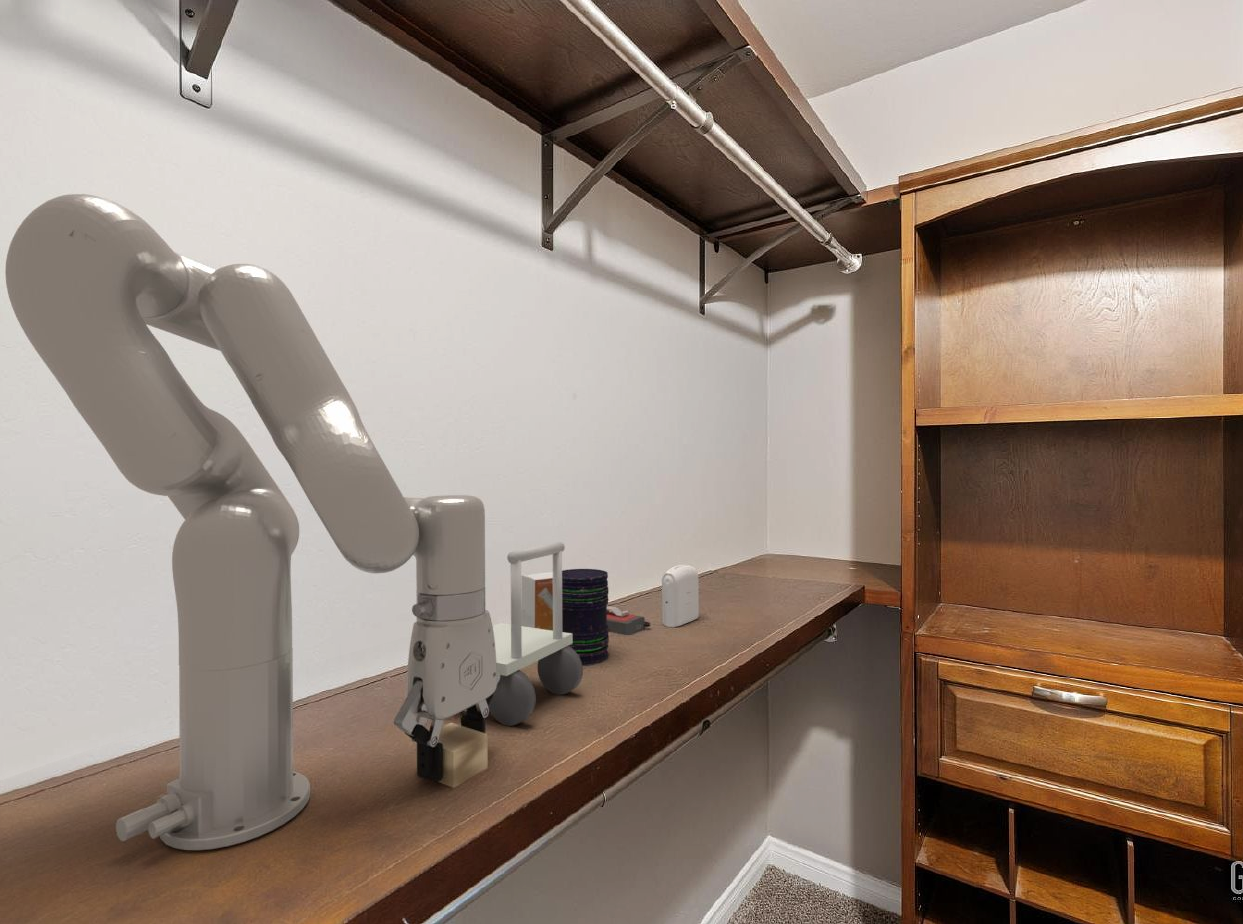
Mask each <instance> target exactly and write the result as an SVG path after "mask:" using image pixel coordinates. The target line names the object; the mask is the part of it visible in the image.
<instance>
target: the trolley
mask: <svg viewBox="0 0 1243 924" xmlns="http://www.w3.org/2000/svg"><path fill="white" fill-rule="evenodd" d="M565 549H566V548H565V544H564V543H563V542H562V541H556V542H552V543H547V544H543V545H537V546H533V547H527V548H523V549H517V550H513V551H509V553H508V554H507V557H506V558H507V561H508V562H509V564H510V624H509V623H501V622H499V623H497V624H494V625H492V626H493V632H494V639H495V649H496V664H497V672H498V673H499V674H500V679H499V682H498V684H497V687H496V690H495V691H494V694H493V697H492V699H491V701H490V703H489V705H488V708H489V713H490V714H491V716H492V717H493V718H494V719H495V720H496V721H497V722H498V723H500V724H502V725H505V726H509V727H510V726H512V727H513V726H516V725H518V724H520V723H521V722H523V721H525V720H526V719H528V718H529V717H530V716H531V715H532V713H533V712H534V710H535V707H536V701H537V699H536V691H535V687H534V685H533V682H532V681H531V679H530V678H529V677H528V675H527V674H526V673H525V672H523V671H522V669H523V668H526V667H528V666H530V665H531V664H534V663H536V662H537V666H536V668H537V675H538V678H539V680H540V682H541V684H542V685H543V687H544V688H545V689H546V690H547V691H548V692H550V693H552V694H554V695H560V696H561V695H566V694H568V693H571V691H572V690H575V689H576V688H577V687H578V686H579V685H580V683H581V681H582V679H583V674H584V672H583V671H584V668H583V667H584V666H582V662H581V660H580V658H579V656H578V654H577V653H576V652H575V651H574V650H573V649H572V648H571V647H569V646H568V645H570V644H572V643H573V639H572V633H565V632H562V571H563V552H564V551H565ZM551 555H552V572H553V631H551V630H544V629H537V628H530V627H524V626H521V601H522V591H521V576H522V562H526V561H530V560H531V561H532V560H535V559H539V558H543V557H546V556H551Z"/></svg>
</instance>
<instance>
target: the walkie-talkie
mask: <svg viewBox="0 0 1243 924" xmlns="http://www.w3.org/2000/svg"><path fill="white" fill-rule="evenodd" d="M607 625H608V629H609V632H608V633H614V634H619V635H624V636H631V635H634V634H636V632H637V633H639V632H641V631H643V630H645V629H646V628H650V627H651V622H649V621H645V617H644V616H641V615H634V614H630V612H629V610H624V611H621V610H620V609H619V608H618V607H616V606H608V605H607Z"/></svg>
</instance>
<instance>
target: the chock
mask: <svg viewBox="0 0 1243 924" xmlns="http://www.w3.org/2000/svg"><path fill="white" fill-rule="evenodd" d="M438 742H439V743H442V745H443V777H442V780H440V781H439V782H438V783H441V784H443V785H445V786H447V787H450V788H452V789H455V788H456V787H457V786H460V785H461V784H463V783H465V782H466V781H468V780H471V779H472V778H473V777H475V776H477V775H478V774H480V773H482V772H483V771H485V770H487V769H488V768H489V767H488V766H489V765H488V763H489V762H488V758H489V757H488V733H486V732H485V733H482V732H479V731H476V730H473V729H470V728H467V727H464V726H461V724H457V723H454V722H449V723H447V724H445V725H442V728H441V732H440V736H439V740H438ZM415 743H416V744H415V745H416V749H415V750H416V753H415V754H416V760H415V761H416V763H415V764H416V765H417V742H415Z"/></svg>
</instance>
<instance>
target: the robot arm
mask: <svg viewBox="0 0 1243 924" xmlns="http://www.w3.org/2000/svg"><path fill="white" fill-rule="evenodd" d="M5 284H6V289H7V290H6V291H7V294H8V298H9V301H10V304H11V307H12V309H13V312H14V314H15V317H16V320H17V322H18V323H19V325H20V327H21V329H22V330H23V333H24V335H25V336H26V337H27V339H28V341H29V342H30V344H31V346H32V347H33V348H34V350H35V352H37V354H38V355H39V357H40V359H41V360H42V361H43V362H44V364H45V366H46V367H47V368H48V370H49V371H50V372H51V374H52V375H53V376H54V378H55V379H56V380H57V382H58V383H59V384H60V386H61V387H62V389H63V391H64V392H65V393H66V395H67V396H68V399H69V400H70V401H71V403H72V404H73V406H74V408H75V409H76V410H77V412H78V413H79V415H81V418H83V420H84V421H85V423H86V424H87V426H88V427H89V428H90V430H91V431H92V432H93V434H94V435H95V436H96V438H97V440H98V441H99V443H101V445H102V446H103V447H104V450H106V452H107V454H108V455H109V457H110V458H111V460H112V462H114V464H115V466H116V467H117V469H118V471H120V473H121V474H122V475H123V477H124V478H125V479H126V480H127V481H128V482H129V483H130V484H131V485H133V486H134V487H136V488H137V489H139V490H140V491H144V492H147V494H148V493H149V494H152V495H157V496H163V497H167V498H168V499H169V500H170V502H171V503H172V504H173V506H174V507H175V508H176V510H177V511H178V512H179V514H180V515H181V516H182V518H183V519H184V520H183V522H182V523H181V525H180V527H179V528H178V531H177V533H176V536H175V538H174V542H173V547H172V555H171V569H172V570H171V572H172V579H173V586H174V594H175V602H176V609H177V610H176V611H177V624H178V626H177V627H178V628H177V631H178V632H177V633H178V668H179V669H178V671H179V673H178V675H179V676H178V678H179V680H178V681H179V684H178V686H179V687H178V688H179V691H178V693H179V695H178V696H179V701H178V702H179V703H178V704H179V706H178V707H179V721H178V724H179V726H178V727H179V778H176V779H175V780H172V781H170V782H168V783H167V785H166V792H167V793H166V794H165V795H163V796H161V797H159V798H158V799H157V800H156V803H155V804H152V805H150V806H148V807H146V808H140V809H138V810H136V811H133V812H131V813H129V814H127V815H125V816H122V817H119V818H118V819H117V821H116V824H115V831H116V834H117V837H118V839H119V840H120V841H121V842H126V841H127V840H129V839H132V838H134V837H136V836H138V835H140V834H142V833H145V832H146V831H148V835H149V836H150V838H151V839H157V838H160V840H161V842H163V843H164V844H165V845H167V846H169V847H171V848H174V849H178V850H182V851H183V850H184V851H207V850H215V849H221V848H225V847H230V846H234V845H238V844H242V843H244V842H247V841H251V840H254V839H257V838H259V837H261V836H263V835H265V834H267V833H270V832H272V831H274V830H276V829H278V828H279V827H281V826H283V825H285V824H286V823H288V822H289V821H290V820H292V819H293V818H295V817H296V816H297V815H298V814H299V813H300V812H301V811H302V810H303V809H304V808H305V806H306V805H307V804H308V802H309V800H310V798H311V784H310V780H309V779H308V778H307V776H305V775H303V774H302V773H301V772H298V771H294V713H293V712H294V703H293V702H294V700H293V698H294V692H293V690H294V688H293V687H294V685H293V683H294V681H293V679H294V678H293V674H294V673H293V671H294V670H293V668H294V667H293V665H294V664H293V661H294V660H293V654H294V653H293V650H294V649H293V608H292V607H293V606H292V605H293V602H292V601H293V600H292V578H291V575H292V573H291V572H292V571H291V570H292V569H291V565H292V555H293V553H294V552H295V550H296V548H297V546H298V543H299V539H300V523H299V519H298V517H297V513H296V512H295V510H294V509H293V507H292V505H291V504H290V502H289V500H288V498H286V496H285V494H284V493H283V492H282V490H281V489H280V487H279V485H278V484H277V483H276V482H275V480H274V479H273V477H272V476H271V475H270V472H269V471H268V469H266V467H265V465H264V464H263V462H262V460H261V459H260V457H258V455H257V454H256V452H255V450H254V449H253V447H252V446H251V445H250V443H249V442H248V440H247V438H246V437H245V436H244V434H242V432H241V430H239V429H238V427H237V426H236V425H235V424H234V423H233V422H232V421H231V420H230V419H229V418H227V417H226V416H224V415H223V414H222V413H219V412H218V411H216V410H213V409H211V408H209V407H207V406H206V405H204V403H203V402H202V401H201V400H200V398H198V396H197V395H196V394H195V392H194V391H193V389H192V388H191V387H190V386H189V384H188V383H187V381H186V380H185V379H184V377H183V375H182V373H180V371H179V370H178V369H177V367H176V366H175V364H174V362H173V360H172V359H171V356H170V355H169V354H168V353H167V351H166V349H165V348H164V346H163V345H162V344H161V343H160V341H159V340H158V339H157V338H156V336H155V335H154V333H152V331H151V330H150V328H149V327H153V328H155V329H159V330H161V331H163V332H167V333H170V334H173V335H175V336H177V337H180V338H183V339H185V340H189V341H191V342H195V343H196V344H199V345H201V346H204V347H205V346H206V347H208V348H211V349H214V350H216V351H220V353H221V355H222V356H223V358H224V360H225V361H226V362H227V364H228V366H230V368H231V370H232V372H233V373H234V374H235V377H236V378H237V380H238V381H239V383H240V385H241V386H242V388H243V390H244V391H245V393H246V395H247V397H248V398H249V400H250V401H251V404H252V407H254V409H255V410H256V412H257V415H258V416H259V417H260V420H261V421H262V423H263V425H264V426H265V427H266V429H267V431H268V433H269V434H270V436H271V438H272V441H273V443H274V445H275V446H276V448H277V449H278V451H279V452H280V454H281V455H282V456H283V458H284V459H285V461H286V463H288V465H289V467H290V470H291V471H292V473H293V474H294V477H295V478H296V480H297V481H298V483H299V485H300V487H301V488H302V490H303V492H304V494H305V496H306V498H307V500H309V501H308V502H310V504H311V506H312V507H313V509H314V511H315V513H316V514H317V516H318V518H319V519H320V522H321V523H322V524H323V526H324V527H325V529H326V531H327V533H328V534H329V536H330V538H331V540H332V541H333V542H334V545H335V546H336V547H337V549H338V551H339V552H340V554H341V555H342V557H343V558H344V559H345V561H346V562H348V563H349V564H351V566H352V567H354V568H356V569H357V570H359V571H361V572H365V573H370V574H385V573H389V572H393V571H395V570H397V569H400V568H401V567H402V566H404V565H405V564H406V563H408V561H409V560H410V559H411V558H412V556H414V557H415V562H416V570H415V571H416V573H415V574H416V576H415V577H416V582H415V583H416V590H415V591H416V592H415V593H416V596H415V597H416V603H415V604H413V606H412V608H411V611H412V614H413V615H414V616H415V617H416V621H415V622H413V626H412V631H411V637H410V643H409V648H408V649H409V650H408V652H409V653H408V659H407V660H408V661H407V673H406V674H407V675H406V698H405V700H404V701H403V703H402V705H401V707H400V708H399V710H398V712H397V714H396V715H395V717H394V719H393V724H394V726H395V727H396V728H398V729H400V730H401V731H402V732H403V733H404V734H405V735H406V736H408V737H409V738H410V739H411V742H413V743H416V742H417V764H416V774H417V776H418V777H419V778H421V779H422V778H423V779H424V780H427V781H428V780H429V781H432V782H433V783H440V782H439V781H440V780H442V777H443V745H442V743H439V742H438V740H439V736H440V732H441V728H442V726H443V723H444V721H445V720H448V719H450V718H452V717H454V716H456V715H458V714H460V713H461V712H464V714H462V715H461V717H460V726H464V727H467V728H470V729H473V730H476V731H479V732H482V733H485V734H486V718H487V717H488V716H489V713H490V711H489V708H488V705H489V703H490V701H491V699H492V697H493V694H494V691H495V690H496V687H497V684H498V682H499V679H500V674H499V673H498V672H497V664H496V649H495V639H494V632H493V626H494V625H493V621H492V617H491V614H490V611H489V610H488V609H487V610H486V515H485V513H486V512H485V511H486V510H485V505H484V503H483V501H482V500H481V499H480V498H479V497H478V496H473V495H466V494H465V495H464V494H462V495H461V494H456V495H455V494H450V495H445V494H444V495H432V496H427V497H425V498H421V497H404V495H403V494H402V492H401V490H400V488H399V486H398V484H397V483H396V481H395V480H394V478H393V476H392V474H391V472H390V471H389V469H388V468H387V467H388V466H387V465H386V464H385V462H384V460H383V458H382V457H381V455H380V453H379V451H378V450H377V448H376V447H375V444H374V443H373V441H372V439H371V437H370V435H369V433H368V432H367V430H366V428H365V426H364V423H363V421H362V419H361V416H360V413H359V411H358V408H357V406H356V404H355V402H354V401H353V399H352V397H351V395H350V392H348V389H347V388H346V386H345V385H344V382H343V381H342V379H341V377H340V376H339V374H338V373H337V370H336V369H335V367H334V366H333V364H332V362H331V360H330V358H329V356H328V355H327V353H326V351H325V350H324V348H323V346H322V345H321V343H320V341H319V339H318V338H317V336H316V334H315V332H314V330H313V329H312V326H311V325H310V323H309V321H308V320H307V318H306V316H305V315H304V312H303V310H302V309H301V307H300V305H299V303H298V302H297V301H296V299H295V297H294V295H293V293H292V292H291V290H290V289H289V288H288V286H287V284H285V283H284V282H283V280H282V279H280V277H278V276H277V275H276V274H275V273H273V272H272V271H270V270H268V269H266V268H264V267H261V266H259V265H255V264H249V263H233V264H230V265H225V266H222V267H219V268H218V269H214V268H212V267H209V266H208V265H205V264H203V263H200V262H199V261H196V260H193V259H191V258H189V257H186V256H183V255H182V254H179V253H178V252H175V251H174V250H173V249H172V248H171V247H170V245H169V244H168V243H167V242H166V241H165V240H164V239H163V237H161V235H160V234H159V233H158V232H157V231H156V230H155V229H154V228H153V227H152V226H151V225H150V224H149V223H148V222H146V220H145V219H143V218H142V217H141V216H139V215H138V214H137V213H135V212H134V211H132V210H130V209H128V208H127V207H125V206H123V205H121V204H119V203H118V202H115V201H113V200H109V199H108V198H105V197H100V196H96V195H92V194H85V193H75V194H74V193H69V194H63V195H59V196H57V197H53V198H51V199H49V200H46V201H45V202H43V203H42V204H40V205H39V206H38V207H36V208H35V209H33V210H32V211H31V212H30V213H29V214H28V215H27V216H26V217H25V219H23V221H22V222H21V224H20V225H19V226H18V227H17V229H16V231H15V233H14V235H13V237H12V239H11V241H10V243H9V247H8V251H7V255H6V259H5ZM148 326H149V327H148ZM429 719H430V720H431V723H430V727H429V729H428V728H426V727H427V724H428V720H429Z"/></svg>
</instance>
